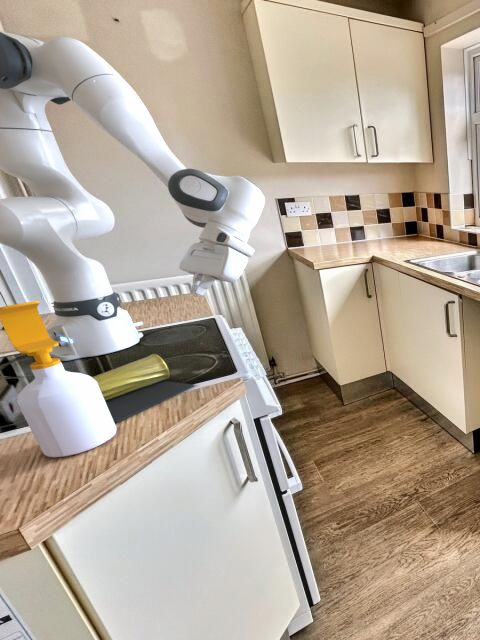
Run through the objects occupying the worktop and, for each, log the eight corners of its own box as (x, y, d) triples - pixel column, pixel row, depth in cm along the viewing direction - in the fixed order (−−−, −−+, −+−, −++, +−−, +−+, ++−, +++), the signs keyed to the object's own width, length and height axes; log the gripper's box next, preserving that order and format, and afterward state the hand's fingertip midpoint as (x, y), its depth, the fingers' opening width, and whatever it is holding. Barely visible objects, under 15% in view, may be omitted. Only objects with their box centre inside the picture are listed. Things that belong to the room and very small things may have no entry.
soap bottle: (53, 465, 65) (-24, 314, 57) (37, 448, 70) (-37, 306, 61) (125, 436, 72) (67, 298, 64) (106, 422, 77) (49, 292, 68)
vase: (168, 384, 94) (87, 416, 82) (150, 364, 94) (67, 394, 82) (171, 368, 91) (88, 399, 79) (153, 348, 91) (67, 376, 79)
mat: (43, 410, 82) (42, 408, 82) (126, 377, 95) (125, 375, 95) (117, 422, 77) (116, 421, 77) (194, 386, 90) (193, 384, 90)
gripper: (187, 231, 103) (160, 282, 100) (233, 237, 93) (204, 293, 90) (213, 245, 108) (188, 293, 106) (259, 251, 99) (232, 305, 96)
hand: (196, 293), depth 98 cm, fingers closed
